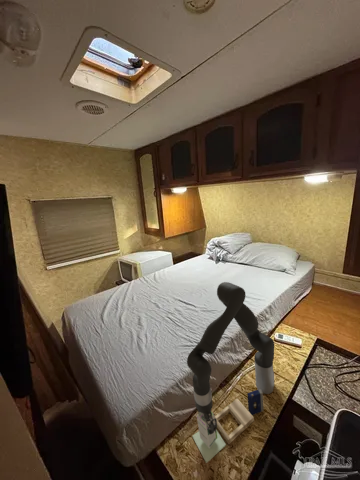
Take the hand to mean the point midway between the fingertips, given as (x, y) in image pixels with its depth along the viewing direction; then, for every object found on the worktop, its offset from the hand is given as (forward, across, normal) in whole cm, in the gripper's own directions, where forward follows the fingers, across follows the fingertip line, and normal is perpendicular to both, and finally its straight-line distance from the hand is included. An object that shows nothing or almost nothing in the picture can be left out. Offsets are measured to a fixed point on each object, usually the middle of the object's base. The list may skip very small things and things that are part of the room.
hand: (206, 424), depth 87 cm
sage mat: (+10, 0, 0) cm, 10 cm away
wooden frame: (+10, -1, -15) cm, 18 cm away
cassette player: (+10, -4, -27) cm, 29 cm away
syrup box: (+8, 0, 0) cm, 8 cm away
